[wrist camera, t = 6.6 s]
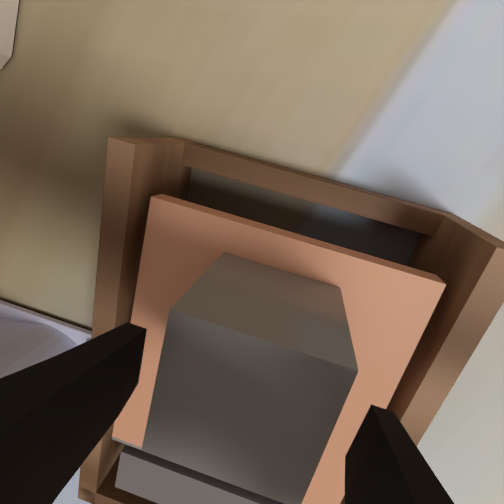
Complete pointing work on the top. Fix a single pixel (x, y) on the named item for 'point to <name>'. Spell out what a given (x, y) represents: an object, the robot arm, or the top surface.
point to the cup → (7, 28)
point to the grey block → (252, 377)
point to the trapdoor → (292, 260)
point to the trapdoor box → (318, 191)
